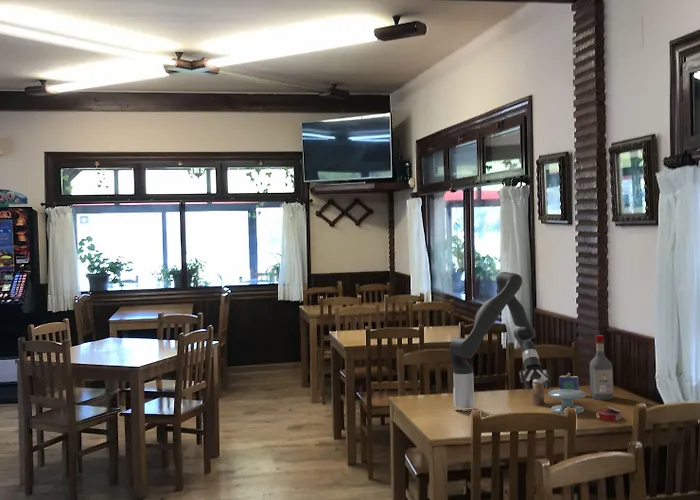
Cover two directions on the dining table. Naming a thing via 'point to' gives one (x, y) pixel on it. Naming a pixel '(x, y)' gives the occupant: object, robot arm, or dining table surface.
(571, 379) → the flask
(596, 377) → the liquor
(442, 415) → the dining table surface
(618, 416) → the canned food
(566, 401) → the cake stand
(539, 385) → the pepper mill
